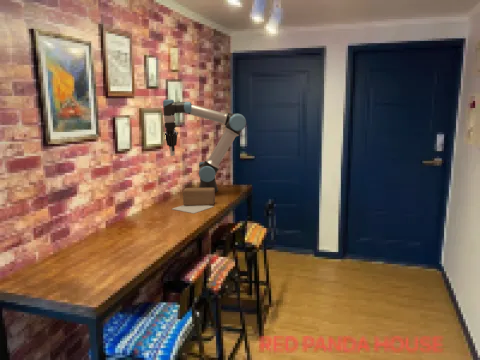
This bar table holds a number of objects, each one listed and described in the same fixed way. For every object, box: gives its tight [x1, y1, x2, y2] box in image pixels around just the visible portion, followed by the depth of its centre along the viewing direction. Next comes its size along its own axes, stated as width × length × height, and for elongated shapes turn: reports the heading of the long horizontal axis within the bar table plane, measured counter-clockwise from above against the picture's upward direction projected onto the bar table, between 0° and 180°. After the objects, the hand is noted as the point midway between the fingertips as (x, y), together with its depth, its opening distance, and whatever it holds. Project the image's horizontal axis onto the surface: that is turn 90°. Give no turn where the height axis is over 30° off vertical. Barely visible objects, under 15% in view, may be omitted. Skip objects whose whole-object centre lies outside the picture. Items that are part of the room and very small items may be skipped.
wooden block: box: [182, 187, 216, 206], centre depth 244 cm, size 10×10×20 cm
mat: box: [171, 204, 215, 215], centre depth 236 cm, size 18×20×1 cm
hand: (172, 155), depth 263 cm, fingers closed
